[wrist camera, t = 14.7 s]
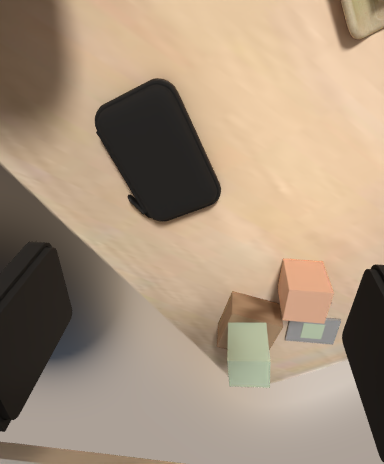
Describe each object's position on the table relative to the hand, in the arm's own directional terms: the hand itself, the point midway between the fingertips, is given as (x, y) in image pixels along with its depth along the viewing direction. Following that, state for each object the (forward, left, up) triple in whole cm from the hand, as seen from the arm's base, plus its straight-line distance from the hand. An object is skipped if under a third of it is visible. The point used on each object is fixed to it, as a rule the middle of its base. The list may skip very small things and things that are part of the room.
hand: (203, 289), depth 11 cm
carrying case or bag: (+7, +6, -29) cm, 30 cm away
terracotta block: (-11, +22, -28) cm, 38 cm away
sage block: (-5, +30, -24) cm, 38 cm away
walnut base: (-5, +30, -29) cm, 42 cm away
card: (-14, +32, -28) cm, 45 cm away
